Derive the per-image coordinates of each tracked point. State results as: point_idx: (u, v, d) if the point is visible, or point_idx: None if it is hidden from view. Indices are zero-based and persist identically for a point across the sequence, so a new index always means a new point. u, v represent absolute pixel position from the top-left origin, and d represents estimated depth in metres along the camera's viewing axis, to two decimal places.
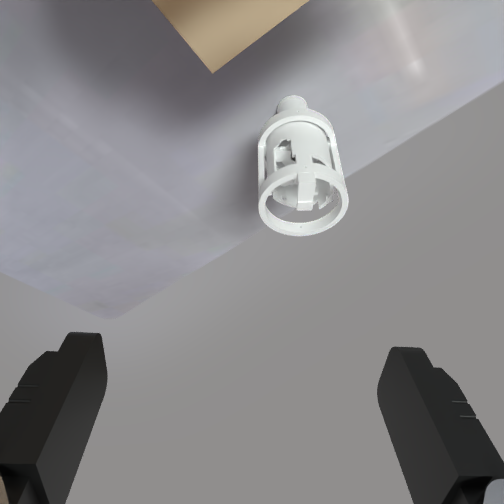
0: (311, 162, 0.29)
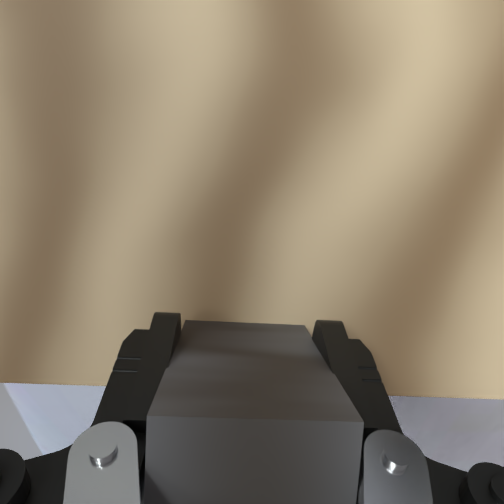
0: None
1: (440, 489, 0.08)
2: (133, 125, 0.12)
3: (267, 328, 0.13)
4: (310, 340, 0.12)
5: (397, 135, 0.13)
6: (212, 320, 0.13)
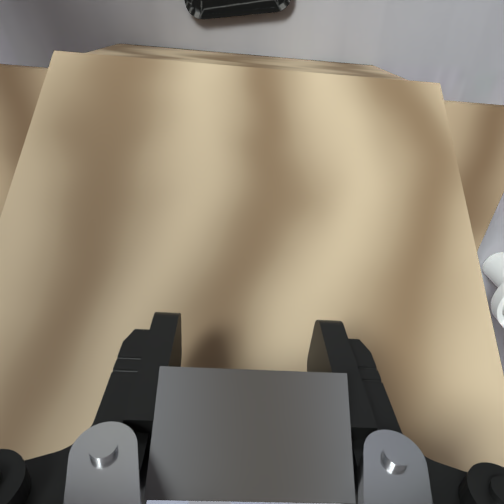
0: None
1: (440, 489, 0.08)
2: (152, 227, 0.16)
3: None
4: None
5: (353, 233, 0.17)
6: None
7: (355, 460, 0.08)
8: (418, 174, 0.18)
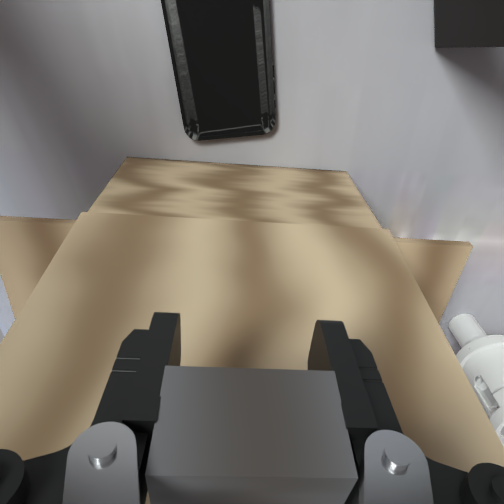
0: None
1: (441, 489, 0.08)
2: None
3: None
4: None
5: None
6: None
7: (356, 460, 0.08)
8: (384, 288, 0.21)
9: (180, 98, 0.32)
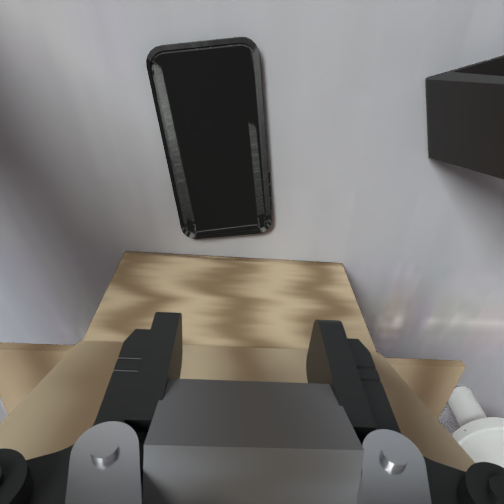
0: None
1: (438, 489, 0.08)
2: None
3: None
4: None
5: None
6: None
7: None
8: None
9: (177, 202, 0.32)
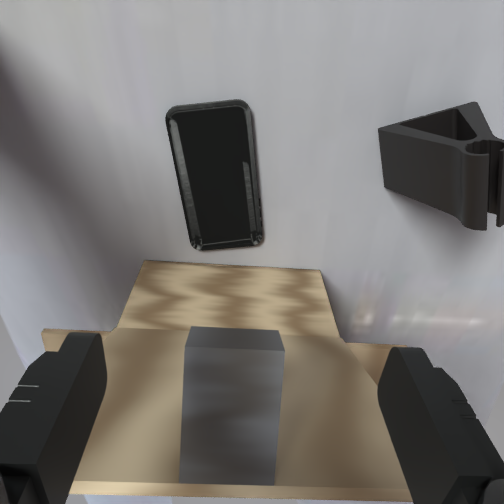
0: None
1: None
2: (167, 382, 0.25)
3: None
4: None
5: (299, 385, 0.25)
6: None
7: None
8: (336, 366, 0.29)
9: (187, 222, 0.41)
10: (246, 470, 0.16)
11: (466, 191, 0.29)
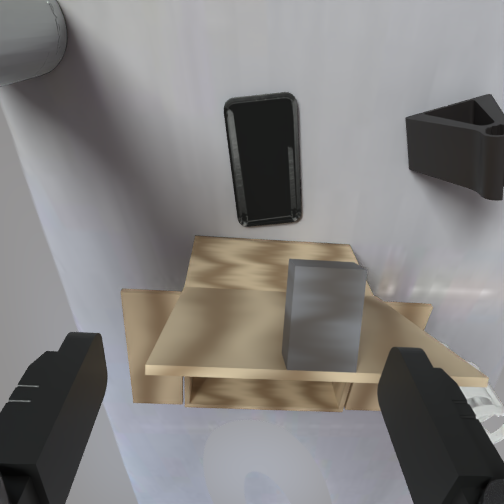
0: None
1: None
2: (247, 319, 0.30)
3: None
4: None
5: None
6: None
7: None
8: (378, 312, 0.35)
9: (236, 200, 0.47)
10: (336, 360, 0.22)
11: (485, 167, 0.35)
